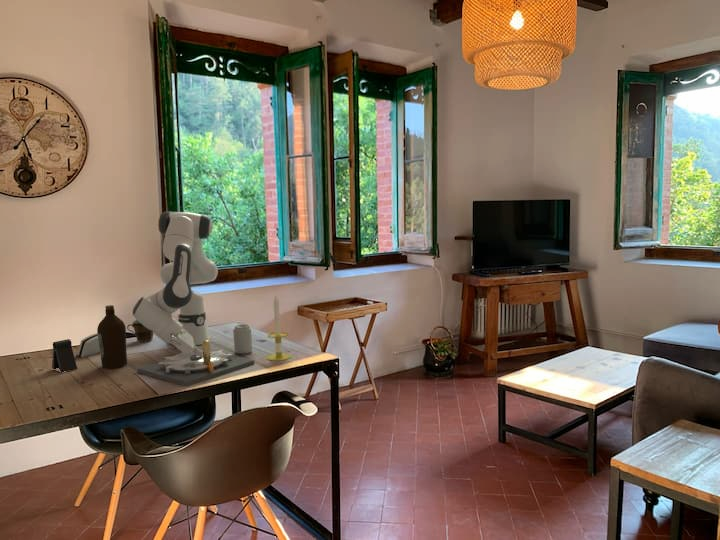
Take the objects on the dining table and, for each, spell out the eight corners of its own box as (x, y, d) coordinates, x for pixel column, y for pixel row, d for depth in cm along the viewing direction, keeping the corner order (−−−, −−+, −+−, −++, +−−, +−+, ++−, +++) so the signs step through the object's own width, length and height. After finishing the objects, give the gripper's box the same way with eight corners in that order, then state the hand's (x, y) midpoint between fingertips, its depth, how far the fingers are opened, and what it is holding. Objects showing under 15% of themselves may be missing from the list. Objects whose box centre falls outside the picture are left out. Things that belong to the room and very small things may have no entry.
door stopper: (77, 369, 222) (74, 340, 221) (62, 373, 217) (59, 343, 216) (67, 366, 227) (64, 337, 226) (51, 369, 223) (49, 340, 221)
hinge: (105, 347, 258) (109, 328, 255) (113, 351, 256) (116, 332, 253) (74, 356, 243) (77, 336, 240) (81, 360, 241) (85, 340, 238)
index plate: (137, 372, 215) (136, 358, 215) (204, 353, 241) (203, 341, 240) (186, 386, 196) (185, 371, 195) (254, 363, 221) (253, 350, 221)
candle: (294, 354, 233) (291, 292, 230) (285, 361, 224) (282, 296, 220) (273, 353, 236) (269, 292, 233) (263, 360, 226) (259, 295, 223)
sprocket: (151, 376, 203) (149, 347, 202) (170, 356, 231) (168, 330, 229) (225, 371, 206) (223, 343, 204) (235, 352, 233) (233, 327, 232)
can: (254, 350, 243) (252, 323, 242) (249, 354, 236) (247, 327, 235) (237, 350, 244) (236, 323, 243) (232, 354, 237) (230, 327, 235)
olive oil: (128, 360, 233) (123, 302, 230) (129, 367, 223) (124, 306, 220) (100, 364, 228) (95, 305, 225) (100, 371, 219) (94, 309, 216)
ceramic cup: (150, 337, 275) (149, 317, 274) (159, 340, 268) (157, 320, 267) (124, 342, 266) (122, 322, 265) (132, 345, 259) (131, 325, 258)
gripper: (177, 330, 195) (207, 354, 199) (177, 320, 214) (205, 341, 218) (164, 344, 194) (195, 367, 198) (166, 332, 214) (194, 354, 218)
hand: (200, 354), depth 209 cm, fingers closed
